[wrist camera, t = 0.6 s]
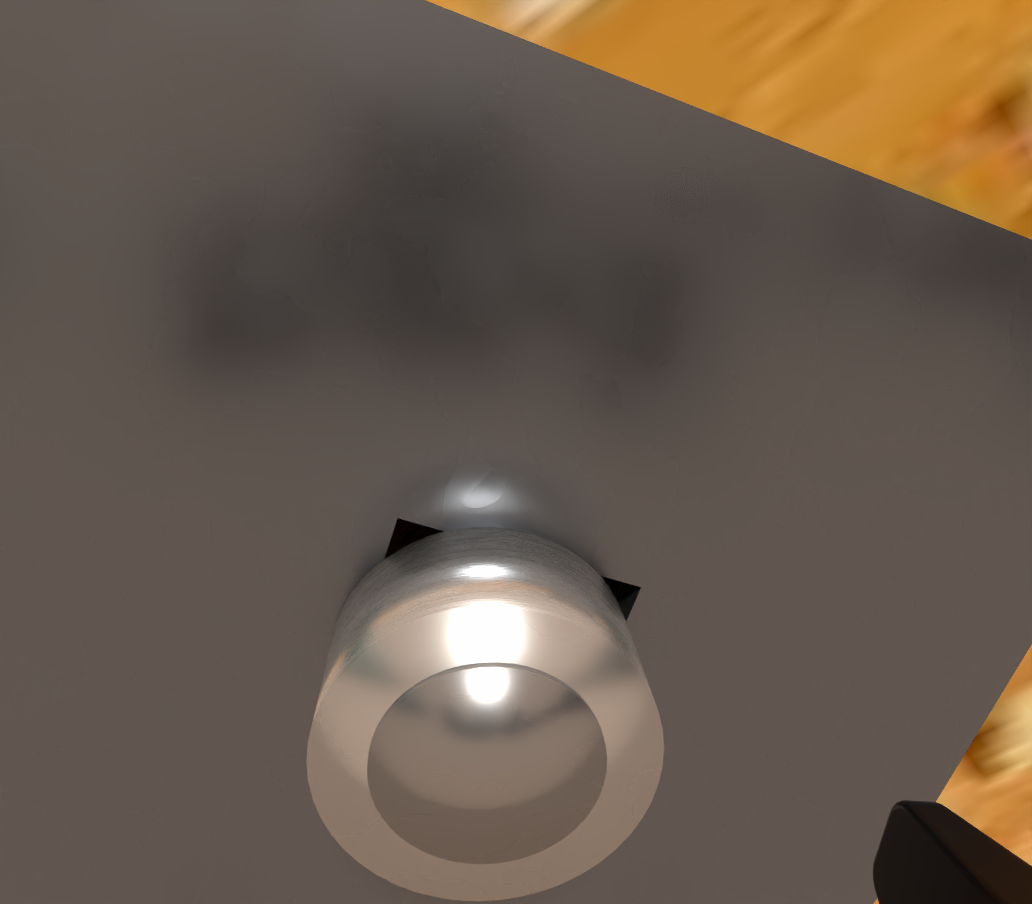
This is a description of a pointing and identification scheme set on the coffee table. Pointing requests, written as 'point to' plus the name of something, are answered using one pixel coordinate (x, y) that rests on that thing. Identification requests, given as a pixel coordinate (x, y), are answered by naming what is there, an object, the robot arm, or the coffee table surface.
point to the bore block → (475, 439)
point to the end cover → (482, 717)
